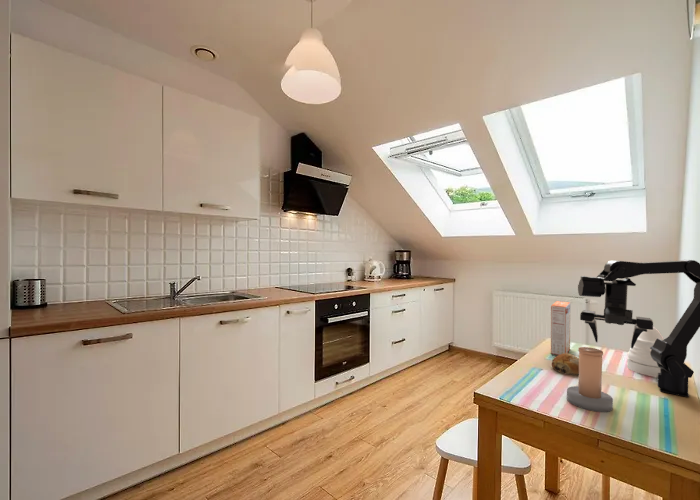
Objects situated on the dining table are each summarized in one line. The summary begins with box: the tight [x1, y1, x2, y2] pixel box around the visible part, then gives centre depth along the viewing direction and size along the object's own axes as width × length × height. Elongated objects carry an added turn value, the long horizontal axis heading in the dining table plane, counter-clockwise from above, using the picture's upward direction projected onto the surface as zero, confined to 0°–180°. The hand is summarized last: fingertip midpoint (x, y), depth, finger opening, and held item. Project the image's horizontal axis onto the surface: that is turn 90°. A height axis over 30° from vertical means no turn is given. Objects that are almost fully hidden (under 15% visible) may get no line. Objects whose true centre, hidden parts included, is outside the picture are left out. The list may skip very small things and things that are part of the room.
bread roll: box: [551, 352, 579, 376], centre depth 125 cm, size 10×10×8 cm
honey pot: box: [626, 326, 664, 378], centre depth 125 cm, size 13×13×18 cm
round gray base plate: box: [566, 385, 614, 413], centre depth 99 cm, size 11×11×2 cm
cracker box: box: [550, 300, 571, 356], centre depth 147 cm, size 14×6×21 cm, turn 141°
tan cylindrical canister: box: [577, 346, 604, 399], centre depth 99 cm, size 6×6×13 cm
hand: (613, 345), depth 113 cm, fingers open, 9 cm apart
